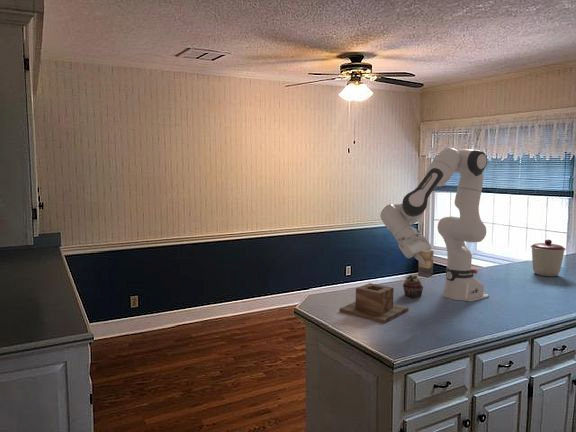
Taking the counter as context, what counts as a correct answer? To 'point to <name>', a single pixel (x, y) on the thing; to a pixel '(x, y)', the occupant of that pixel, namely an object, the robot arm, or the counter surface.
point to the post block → (374, 304)
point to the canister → (547, 258)
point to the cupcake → (412, 287)
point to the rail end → (426, 264)
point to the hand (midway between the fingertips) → (427, 261)
